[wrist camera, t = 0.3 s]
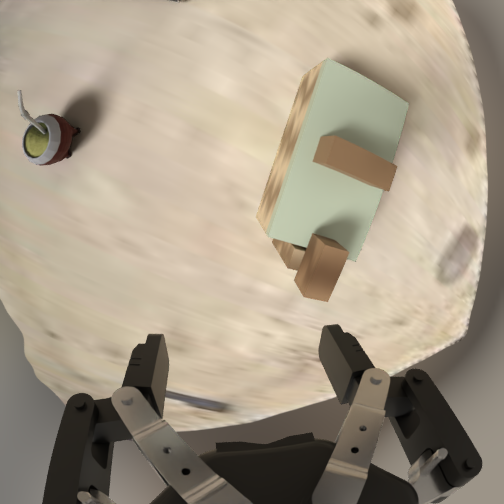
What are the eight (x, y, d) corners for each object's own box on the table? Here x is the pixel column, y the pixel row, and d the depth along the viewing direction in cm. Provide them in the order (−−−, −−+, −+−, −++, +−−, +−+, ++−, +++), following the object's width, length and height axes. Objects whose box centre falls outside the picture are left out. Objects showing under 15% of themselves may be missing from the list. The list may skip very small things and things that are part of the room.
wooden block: (312, 232, 31) (325, 244, 27) (334, 239, 32) (349, 252, 28) (294, 280, 33) (303, 296, 29) (316, 285, 33) (327, 301, 30)
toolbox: (302, 76, 34) (327, 57, 25) (372, 109, 36) (408, 103, 27) (249, 236, 41) (259, 261, 32) (321, 255, 44) (346, 282, 35)
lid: (322, 61, 26) (342, 47, 21) (402, 104, 29) (428, 101, 24) (265, 233, 33) (275, 249, 28) (350, 257, 35) (370, 274, 30)
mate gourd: (53, 169, 33) (-8, 185, 19) (41, 125, 30) (-21, 125, 16) (91, 148, 33) (33, 152, 19) (78, 102, 30) (19, 87, 16)
